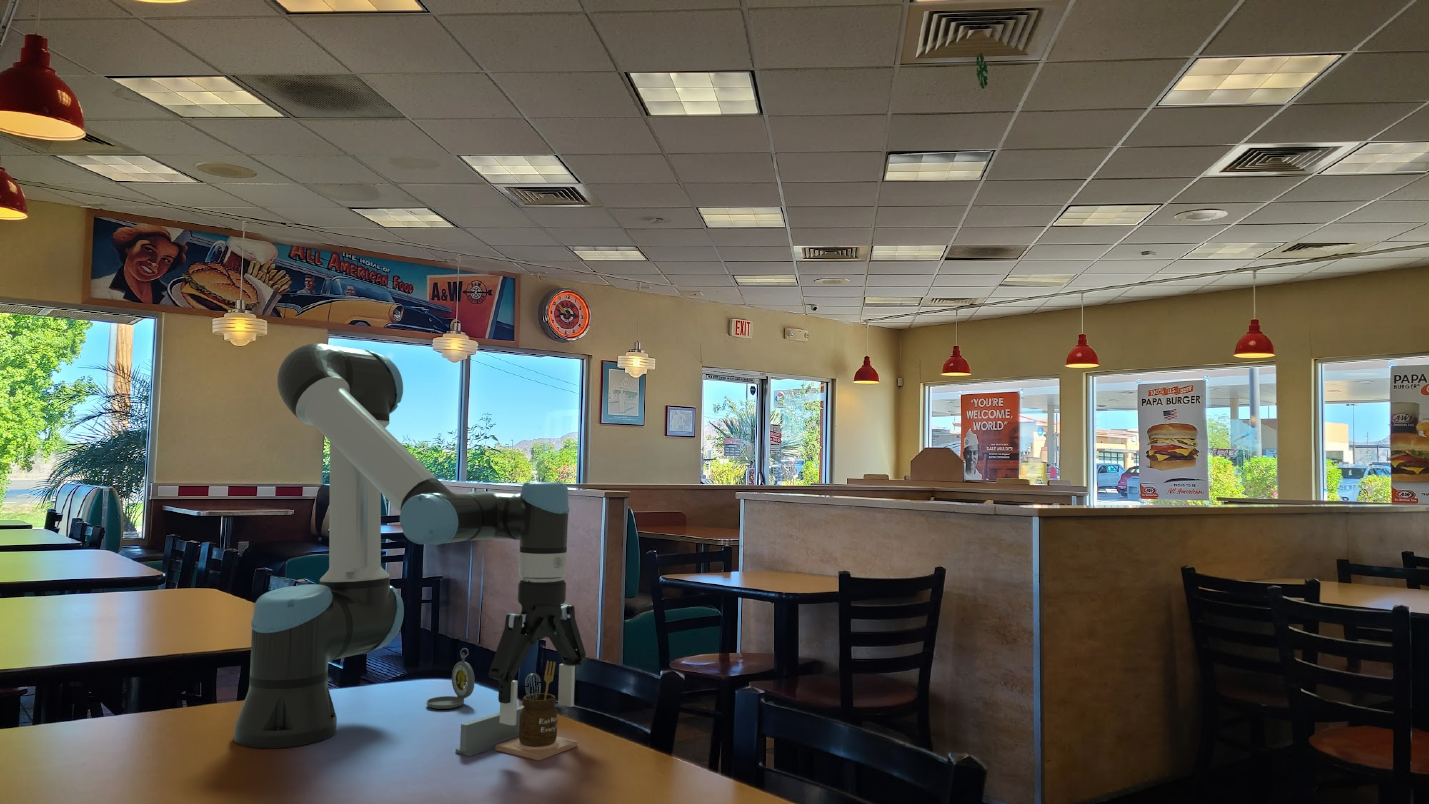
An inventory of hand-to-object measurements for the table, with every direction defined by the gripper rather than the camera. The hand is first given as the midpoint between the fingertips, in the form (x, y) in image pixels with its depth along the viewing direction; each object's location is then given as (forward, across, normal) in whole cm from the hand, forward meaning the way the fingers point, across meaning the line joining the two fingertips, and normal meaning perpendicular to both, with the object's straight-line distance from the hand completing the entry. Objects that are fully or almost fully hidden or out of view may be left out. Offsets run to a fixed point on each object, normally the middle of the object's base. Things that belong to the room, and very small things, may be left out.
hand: (537, 714), depth 149 cm
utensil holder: (+4, 0, 0) cm, 5 cm away
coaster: (+5, 0, 0) cm, 5 cm away
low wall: (+5, 0, +7) cm, 9 cm away
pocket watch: (+6, +11, +30) cm, 33 cm away
